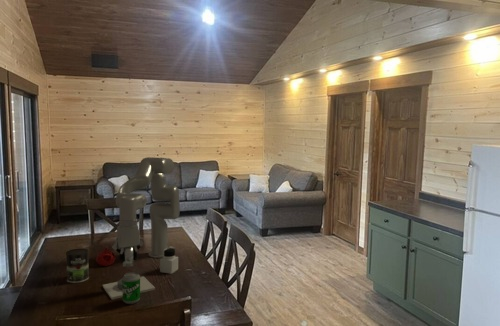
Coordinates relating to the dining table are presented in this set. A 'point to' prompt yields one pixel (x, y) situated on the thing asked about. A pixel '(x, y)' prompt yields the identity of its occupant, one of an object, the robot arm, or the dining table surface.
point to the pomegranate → (105, 258)
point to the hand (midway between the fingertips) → (128, 260)
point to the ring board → (119, 292)
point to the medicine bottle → (169, 261)
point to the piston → (128, 256)
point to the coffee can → (77, 265)
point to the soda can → (131, 288)
